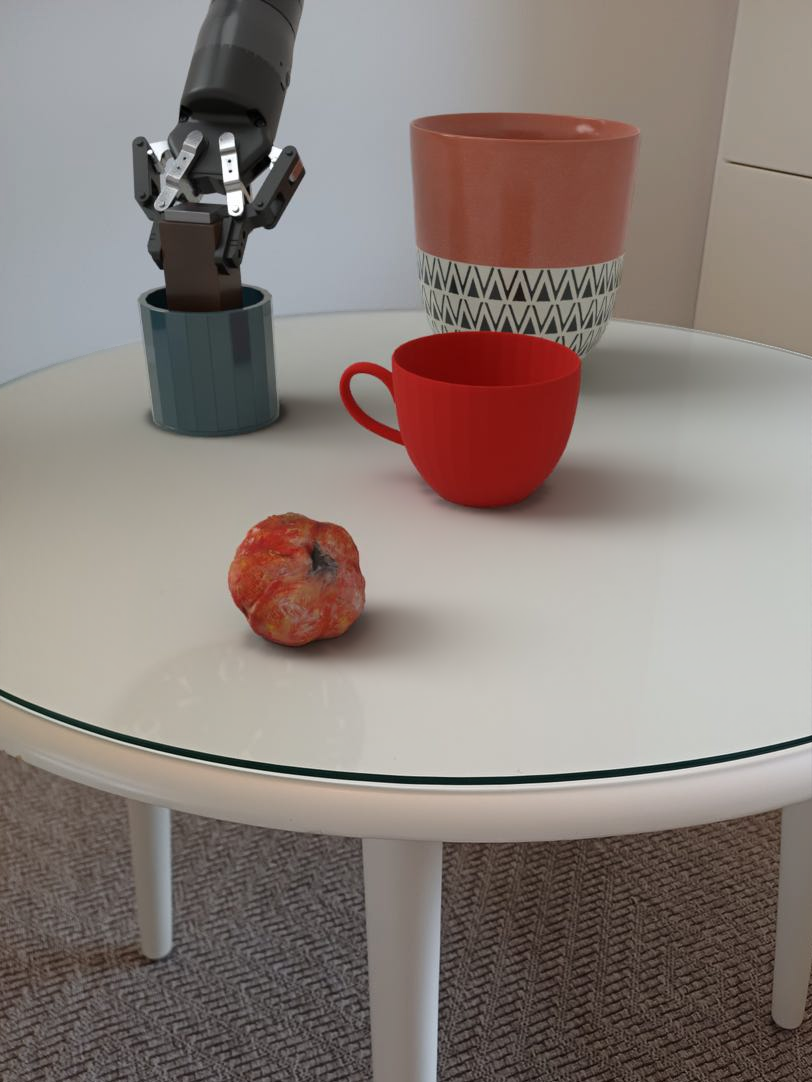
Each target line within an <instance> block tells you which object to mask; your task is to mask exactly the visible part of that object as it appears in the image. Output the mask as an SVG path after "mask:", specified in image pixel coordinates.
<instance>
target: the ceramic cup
mask: <svg viewBox="0 0 812 1082" xmlns="http://www.w3.org/2000/svg"><path fill="white" fill-rule="evenodd" d="M359 374H365V375H370V376H373V377H375V378H377V379H378V380H379V381H381V382H382V383H383V385H385V387H386V388H387V390H388V391H389V393H390V396H391V399H392V402H393V403H394V405H395V412H396V418H397V425H398V428H399V429H395V428H394V427H390V426H388V425H386V424H384V423H383V422H380V421H378V420H376V419H374V418H373V417H371V416H370V415H369V414H368V413H367V412H365V411H364V410H363V409H362V408H361V406H360V405H359V404H358V403H357V401H356V400H355V398H354V395H353V394H352V390H351V381H352V378H353V377H354V376H356V375H359ZM340 376H341V377H340V379H339V385H338V386H339V387H338V389H339V390H338V391H339V396H340V400H341V403H342V404H343V406H344V408H345V410H346V411H347V413H348V414H349V416H350V417H352V419H353V420H354V421H355V422H356V423H358V424H359V425H360V426H361V427H363V428H364V429H365V430H367V431H369V432H371V433H372V434H375V435H376V436H378V437H381V438H383V439H384V440H387V441H390V442H393V443H395V444H398V445H400V446H403V447H404V448H405V451H406V453H407V455H408V457H409V459H410V461H411V462H412V464H413V466H414V468H415V469H416V470H417V472H418V473H419V474H420V476H421V477H422V479H423V480H424V481H425V482H426V484H427V485H428V486H429V487H430V488H431V489H432V490H434V492H436V493H437V495H439V496H440V497H441V498H443V499H444V500H446V501H448V502H451V503H453V504H456V505H459V506H460V505H461V506H465V507H470V508H482V509H484V508H485V509H486V508H487V509H488V508H500V507H507V506H513V505H515V504H518V503H520V502H522V501H524V500H525V499H527V498H528V497H530V495H532V494H533V493H535V492H536V491H537V489H538V488H539V487H540V486H541V485H542V484H543V483H544V482H545V481H546V480H547V479H548V477H549V476H550V475H551V474H552V473H553V472H554V470H555V468H556V466H557V465H558V463H559V462H560V460H561V458H562V456H563V454H564V452H565V450H566V448H567V445H568V442H569V440H570V437H571V435H572V431H573V426H574V424H575V419H576V418H575V417H576V415H577V409H578V402H579V396H580V389H581V382H582V360H580V358H579V356H578V355H577V354H576V353H575V352H574V351H573V350H571V349H570V348H568V347H566V346H564V345H562V344H560V343H557V342H554V341H551V340H548V339H543V338H539V337H535V336H530V335H524V334H517V333H508V332H495V331H462V332H448V333H440V334H429V335H425V336H421V337H418V338H414V339H411V340H408V341H406V342H404V343H402V344H400V345H398V346H397V347H396V348H395V349H394V350H393V352H392V355H391V370H389V369H387V368H386V367H384V366H382V365H379V364H377V363H375V362H370V361H358V362H355V363H352V364H351V365H349V366H348V367H346V368H345V370H344V371H343V373H342V375H340Z"/></svg>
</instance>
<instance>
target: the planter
mask: <svg viewBox="0 0 812 1082" xmlns="http://www.w3.org/2000/svg"><path fill="white" fill-rule="evenodd" d="M642 134H643V132H642V130H641V128H640V127H638V126H636V125H633V124H630V123H628V122H627V123H626V122H624V121H623V122H622V121H617V120H611V119H605V118H597V117H590V116H581V115H570V114H569V115H568V114H554V113H535V112H504V111H503V112H499V111H497V112H494V111H493V112H489V111H488V112H461V113H460V112H459V113H456V112H455V113H444V114H443V113H442V114H435V115H427V116H422V117H418V118H415V119H413V120H411V121H410V122H409V153H410V155H409V157H410V170H411V171H410V172H411V183H412V184H411V186H412V187H411V188H412V205H413V207H412V208H413V225H414V240H415V241H414V243H415V256H416V273H417V282H418V290H419V295H420V300H421V304H422V308H423V312H424V315H425V317H426V320H427V323H428V326H429V328H430V330H431V332H432V333H433V334H432V335H434V334H440V333H448V332H462V331H495V332H508V333H517V334H524V335H530V336H535V337H539V338H543V339H548V340H551V341H554V342H557V343H560V344H562V345H564V346H566V347H568V348H570V349H571V350H573V351H574V352H575V353H576V354H577V355H578V356H579V358H580V360H581V361H582V360H583V359H585V357H587V356H588V355H589V353H590V352H592V350H593V349H594V348H595V347H596V346H597V345H598V343H599V342H600V340H601V338H602V337H603V335H604V334H605V332H606V330H607V328H608V327H609V324H610V321H611V318H612V317H613V313H614V310H615V307H616V304H617V300H618V296H619V292H620V289H621V283H622V278H623V277H622V276H623V269H624V263H625V257H626V250H627V244H628V237H629V232H630V222H631V216H632V215H631V214H632V207H633V200H634V193H635V187H636V182H637V181H636V180H637V174H638V167H639V161H640V152H641V145H642V143H641V142H642Z"/></svg>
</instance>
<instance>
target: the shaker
mask: <svg viewBox="0 0 812 1082" xmlns="http://www.w3.org/2000/svg"><path fill="white" fill-rule="evenodd" d="M164 213H165V219H164V220H162V221H160V222H158V225H159V234H160V242H161V251H162V259H163V268H164V270H163V276H164V284H165V285H166V294H167V302H168V310H170V311H180V312H219V311H229V310H235V309H241V308H244V307H243V295H242V272H241V265H240V266H239V268H238V269H234V270H233V274H232V275H231V276H229V275H222V274H221V273H220V271H219V269H218V268H217V267H216V265H215V263H214V255H215V251H216V248H217V244H218V240H219V236H220V232H221V228H222V224H223V218H229V212H228V204H223V203H209V202H199V203H195V202H183V203H181V204H178V205H176V206H173V207H171V208H168V209H166V210H164ZM165 285H164V286H165Z"/></svg>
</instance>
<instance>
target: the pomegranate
mask: <svg viewBox="0 0 812 1082" xmlns="http://www.w3.org/2000/svg"><path fill="white" fill-rule="evenodd" d="M227 586H228V590H229V592H230V596H231V599H232V601H233V603H234V605H235V606H236V608H237V609H238V610H239V611H240V612H241V613H242V614H243V615H244V617H245V618H246V621H247V623H248V624H249V626H250V628H251V630H252V631H253V632H254V634H256V635H257V636H260V637H261V638H263V639H265V640H266V641H267V640H268V641H271V642H274V643H276V644H279V645H283V646H287V647H288V646H289V647H301V646H302V645H305V644H308V643H310V642H314V641H318V640H328V639H332V638H338V637H340V636H342V635H343V634H345V633H346V632H347V631H348V630H349V629H350V627H352V624H354V623H355V622H356V621H357V620H358V618H359V617H360V615H361V614H362V613H363V612H364V609H365V604H366V579H365V576H364V575H363V573H362V569H361V566H360V551H359V549H358V546H357V545H356V543H355V541H354V539H353V537H352V535H351V534H350V533H349V532H348V531H347V530H346V529H345V528H344V527H343V526H342V525H339V524H336V523H333V522H329V521H319V520H315V519H312V518H310V517H308V516H306V515H304V514H302V513H298V512H297V513H296V512H293V511H288V512H286V513H283V514H278V515H276V514H272V515H268V516H267V517H266V518H265V519H263V520H260V521H259V522H258V523H256V524H255V525H254V526H252V527H251V528H249V530H248V531H247V532H246V535H245V538H244V539H243V540H242V541H241V542H240V543H239V545H238V547H237V548H235V553H234V556H233V560H232V561H231V563H230V565H229V568H228V572H227Z"/></svg>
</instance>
